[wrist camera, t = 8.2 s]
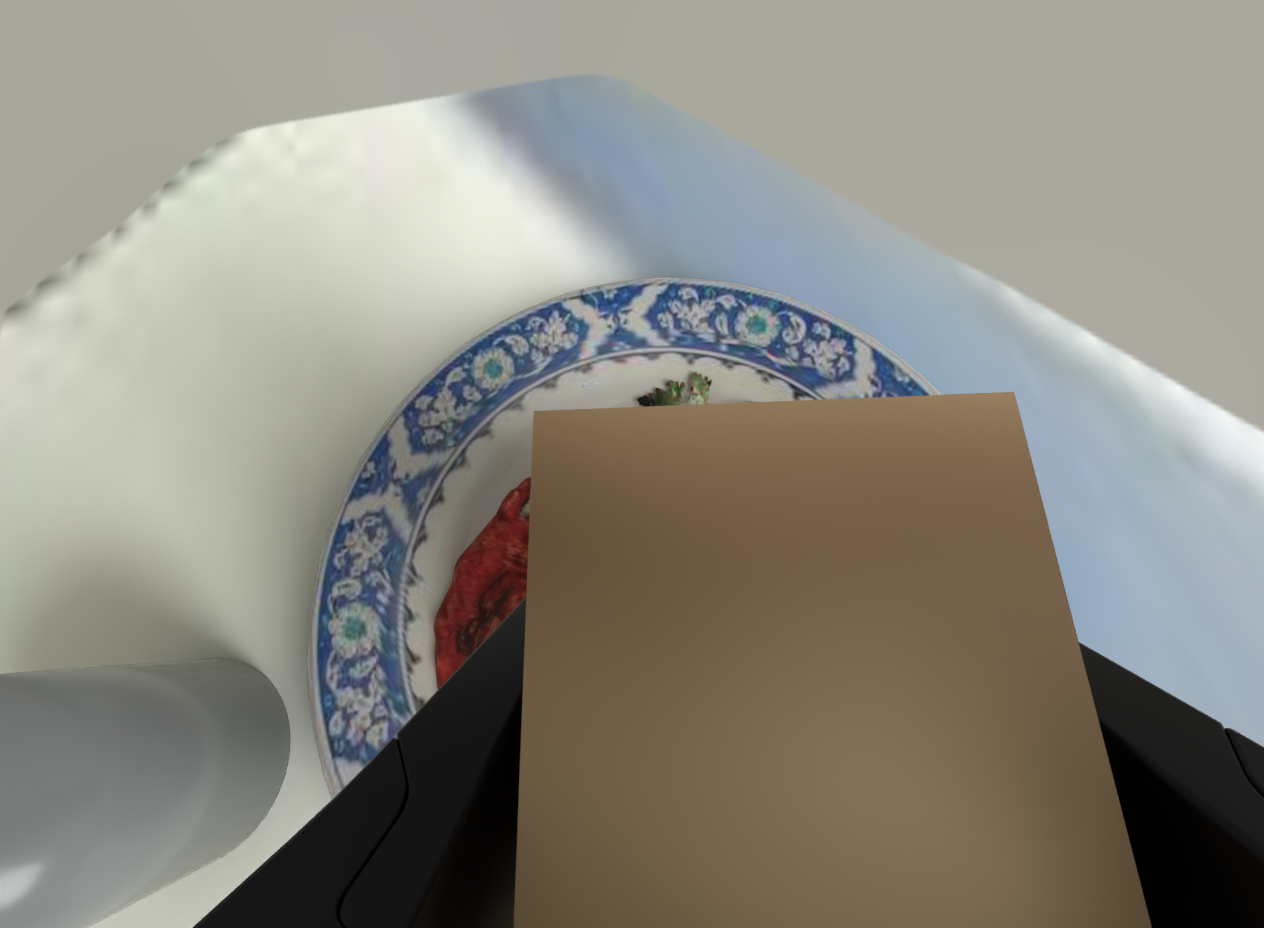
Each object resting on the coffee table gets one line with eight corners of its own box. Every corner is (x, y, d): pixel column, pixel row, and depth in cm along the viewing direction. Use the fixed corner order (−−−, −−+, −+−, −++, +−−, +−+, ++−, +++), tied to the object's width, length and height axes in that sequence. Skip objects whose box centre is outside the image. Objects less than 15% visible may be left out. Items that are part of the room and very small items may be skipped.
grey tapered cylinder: (161, 919, 18) (-389, 1241, 9) (71, 754, 20) (-469, 872, 10) (326, 762, 19) (2, 894, 10) (228, 619, 21) (-128, 614, 12)
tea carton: (816, 784, 13) (1218, 1183, 4) (615, 786, 13) (503, 1167, 4) (789, 543, 15) (1013, 392, 5) (613, 548, 15) (534, 411, 6)
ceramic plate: (843, 1214, 15) (885, 1348, 13) (206, 724, 20) (131, 740, 17) (1102, 468, 21) (1171, 444, 18) (561, 226, 26) (549, 177, 23)
